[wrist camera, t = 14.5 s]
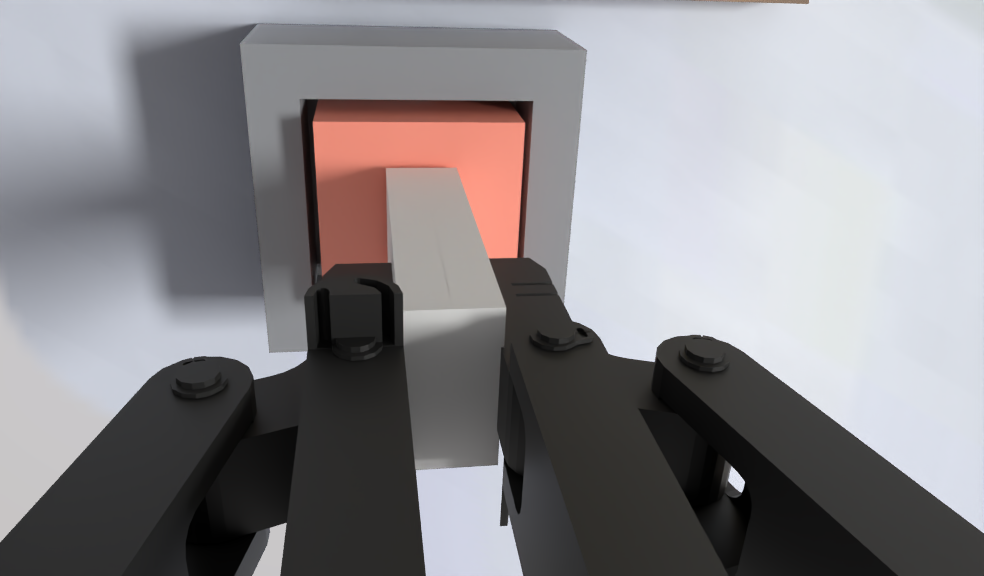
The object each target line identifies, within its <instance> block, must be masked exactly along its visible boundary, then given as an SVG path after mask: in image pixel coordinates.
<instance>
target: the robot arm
mask: <svg viewBox="0 0 984 576" xmlns="http://www.w3.org/2000/svg"><path fill="white" fill-rule="evenodd" d="M386 201H387V254H388V263H352V264H335V265H334V266H333V267H332V268H331V269H330V270H329V271H327V272H326V273H325V274H324V275H323V276H322V281H319V282H318V283H316V284H314V285H313V286H311V287H310V288H309V289H308V290H307V292H306V294H305V295H304V304H305V318H306V332H307V346H308V351H307V359H306V360H305V361H304V362H303V363H301V364H300V365H298V366H297V367H295V368H293V369H290V370H288V371H286V372H284V373H280V374H277V375H273V376H270V377H265V378H261V379H256V380H254V379H253V375H252V373H251V371H250V369H249V367H248V366H246V365H245V364H243V363H241V362H239V361H238V360H234V359H229V358H224V357H206V356H201V357H194V358H193V359H192V358H189V359H185V360H182V361H180V362H177V363H175V364H172V365H170V366H168V367H165V368H163V369H161V370H160V371H159V372H157V373H156V374H155V375H154V376H152V377H151V378H150V379H149V380H148V381H147V382H146V383H145V384H144V385H143V386H142V387H141V389H140V390H139V391H138V392H137V393H136V394H135V395H134V396H133V397H132V398H131V399H130V401H129V402H128V403H127V404H126V405H125V406H124V407H123V408H122V409H121V410H120V412H119V413H118V414H117V415H116V416H115V417H114V418H113V419H112V420H111V421H110V423H109V424H108V425H107V426H106V427H105V428H104V429H103V430H102V431H101V432H100V434H99V435H98V436H97V437H96V438H95V439H94V440H93V441H92V442H91V444H90V445H89V446H88V447H87V448H86V449H85V450H84V451H83V452H82V453H81V454H80V456H79V457H78V458H77V459H76V460H75V461H74V462H73V463H72V464H71V465H70V467H69V468H68V469H67V470H66V471H65V472H64V473H63V474H62V475H61V476H60V477H59V479H58V480H57V481H56V482H55V483H54V484H53V485H52V486H51V487H50V488H49V490H48V491H47V492H46V493H45V494H44V495H43V496H42V497H41V498H40V500H39V501H38V502H37V503H36V504H35V505H34V506H33V507H32V508H31V509H30V510H29V512H28V513H27V514H26V515H25V516H24V517H23V518H22V519H21V521H20V522H19V523H18V524H17V525H16V526H15V527H14V528H13V529H12V530H11V531H10V532H9V534H8V535H7V536H6V537H5V538H4V539H3V540H2V541H1V542H0V576H252V575H253V573H254V571H255V568H256V567H257V564H258V562H259V560H260V558H261V556H262V554H263V552H264V550H265V548H266V546H267V542H268V538H269V533H270V527H274V526H277V525H280V524H284V523H287V525H286V533H285V542H284V550H283V558H282V567H281V575H280V576H426V573H425V563H424V553H423V542H422V532H421V521H420V511H419V501H418V490H417V480H416V470H424V469H440V468H457V467H473V466H489V465H498V451H499V439H500V443H501V447H502V451H503V455H504V467H503V484H502V501H501V518H500V526H507V524H508V515H509V516H510V521H511V525H512V529H513V533H514V538H515V542H516V546H517V550H518V555H519V559H520V563H521V568H522V572H523V576H984V533H982V532H981V531H980V530H979V529H977V528H976V527H975V526H973V525H972V524H971V523H969V522H968V521H967V520H965V519H964V518H963V517H961V516H960V515H959V514H957V513H956V512H955V511H953V510H952V509H951V508H949V507H948V506H947V505H945V504H944V503H943V502H941V501H940V500H939V499H937V498H936V497H935V496H933V495H932V494H931V493H929V492H928V491H927V490H925V489H924V488H923V487H921V486H920V485H919V484H918V483H916V482H915V481H914V480H912V479H911V478H910V477H908V476H907V475H906V474H904V473H903V472H902V471H900V470H899V469H898V468H896V467H895V466H894V465H892V464H891V463H890V462H888V461H887V460H886V459H884V458H883V457H882V456H880V455H879V454H878V453H876V452H875V451H874V450H872V449H871V448H870V447H868V446H867V445H866V444H864V443H863V442H862V441H860V440H859V439H858V438H857V437H855V436H854V435H853V434H851V433H850V432H849V431H847V430H846V429H845V428H843V427H842V426H841V425H839V424H838V423H837V422H835V421H834V420H833V419H831V418H830V417H829V416H827V415H826V414H825V413H823V412H822V411H821V410H819V409H818V408H817V407H815V406H814V405H813V404H811V403H810V402H809V401H807V400H806V399H805V398H803V397H802V396H801V395H799V394H798V393H797V392H796V391H794V390H793V389H792V388H790V387H789V386H788V385H786V384H785V383H784V382H782V381H781V380H780V379H778V378H777V377H776V376H774V375H773V374H772V373H770V372H769V371H768V370H766V369H765V368H764V367H762V366H761V365H760V364H758V363H757V362H756V361H754V360H753V359H752V358H750V357H749V356H748V355H746V354H745V353H744V352H742V351H741V350H739V349H737V348H736V347H734V346H732V345H730V344H729V343H726V342H723V341H719V340H716V339H715V338H713V337H709V336H703V337H701V335H690V336H677V337H674V338H671V339H668V340H665V341H663V342H662V343H661V344H660V345H659V346H658V347H657V352H656V358H655V362H649V361H641V360H634V359H627V358H622V357H617V356H613V355H610V354H608V352H607V350H606V348H605V347H604V345H603V343H602V341H601V339H600V338H599V337H598V335H597V334H596V333H595V332H594V331H593V330H592V329H590V328H588V327H586V326H584V325H582V324H580V323H577V322H573V321H572V320H571V318H570V316H569V314H568V312H567V310H566V308H565V306H564V304H563V302H562V300H561V298H560V296H559V295H558V292H557V290H556V288H555V286H554V284H553V285H552V280H551V278H550V276H549V274H548V272H547V270H546V269H545V268H544V267H542V266H541V265H539V264H538V263H536V262H535V261H533V260H532V259H530V258H488V255H487V252H486V249H485V246H484V244H483V241H482V238H481V235H480V232H479V230H478V227H477V224H476V221H475V218H474V215H473V213H472V210H471V207H470V204H469V201H468V199H467V196H466V193H465V190H464V187H463V185H462V182H461V179H460V176H459V173H458V170H457V168H386ZM731 466H732V467H733V468H734V469H735V470H736V471H737V472H738V473H739V474H740V476H741V477H742V478H743V479H744V481H745V485H744V489H743V492H742V493H741V492H739V491H738V490H736V489H735V488H734V487H733V486H732V485H731V484H730V483H729V482H728V478H729V474H730V469H731Z"/></svg>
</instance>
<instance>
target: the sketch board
mask: <svg viewBox="0 0 984 576" xmlns="http://www.w3.org/2000/svg"><path fill="white" fill-rule="evenodd" d="M694 1H728V2H762V3H796V4H808V3H809V0H694Z"/></svg>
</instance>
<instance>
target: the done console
mask: <svg viewBox="0 0 984 576" xmlns="http://www.w3.org/2000/svg"><path fill="white" fill-rule="evenodd" d="M240 52H241V62H242V73H243V83H244V93H245V104H246V114H247V125H248V135H249V145H250V156H251V166H252V177H253V187H254V197H255V208H256V218H257V229H258V239H259V250H260V260H261V270H262V281H263V291H264V302H265V312H266V322H267V333H268V343H269V353H273V352H299V351H308V346H307V332H306V318H305V304H304V295H305V294H306V292H307V290H308V289H309V288H310V287H311V286H313V285H314V284H316V283H318V282H319V281H322V267H321V251H320V234H319V217H318V200H317V183H316V166H315V149H314V133H313V119H314V115H315V111H316V106H317V102H318V99H360V100H475V101H509V102H510V103H511V104H512V106H513V107H514V108H515V110H516V111H517V112H518V114H519V115H520V116H521V118H522V119H523V120H524V122H525V135H524V152H523V169H522V185H521V202H520V219H519V236H518V252H517V258H530V259H532V260H533V261H535V262H536V263H538V264H539V265H541V266H542V267H544V268H545V269H546V270H547V272H548V274H549V276H550V278H551V280H552V285H553V284H554V286H555V288H556V290H557V292H558V295H559V296H560V298H561V300H562V302H563V304H564V297H565V286H566V275H567V264H568V253H569V242H570V231H571V220H572V209H573V198H574V187H575V176H576V165H577V154H578V143H579V132H580V121H581V110H582V98H583V87H584V76H585V65H586V54H587V50H586V49H584V48H583V47H581V46H580V45H578V44H577V43H575V42H574V41H572V40H571V39H569V38H567V37H566V36H564V35H563V34H561V33H560V32H558V31H557V30H523V29H479V28H435V27H390V26H346V25H302V24H257V25H256V26H255V27H254V28H253V29H252V30H251V32H250V33H249V34H248V35H247V36H246V37H245V38H244V39H243V40H242V42H241V43H240Z"/></svg>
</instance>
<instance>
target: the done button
mask: <svg viewBox="0 0 984 576" xmlns="http://www.w3.org/2000/svg"><path fill="white" fill-rule="evenodd" d="M313 133H314V149H315V166H316V183H317V200H318V217H319V234H320V251H321V267H322V276H323V275H324V274H325V273H326V272H327V271H329V270H330V269H331V268H332V267H333V266H334V265H335V264H352V263H388V254H387V201H386V168H457V170H458V173H459V176H460V179H461V182H462V185H463V187H464V190H465V193H466V196H467V199H468V201H469V204H470V207H471V210H472V213H473V215H474V218H475V221H476V224H477V227H478V230H479V232H480V235H481V238H482V241H483V244H484V246H485V249H486V252H487V255H488V258H517V252H518V236H519V219H520V202H521V185H522V169H523V152H524V135H525V122H524V120H523V119H522V118H521V116H520V115H519V114H518V112H517V111H516V110H515V108H514V107H513V106H512V104H511V103H510V102H509V101H475V100H360V99H318V102H317V106H316V111H315V115H314V119H313Z"/></svg>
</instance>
